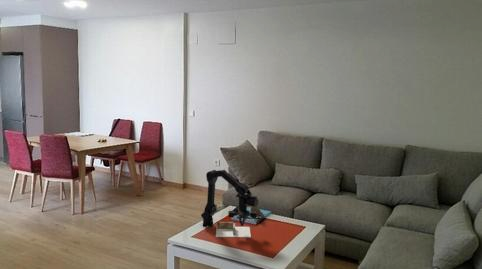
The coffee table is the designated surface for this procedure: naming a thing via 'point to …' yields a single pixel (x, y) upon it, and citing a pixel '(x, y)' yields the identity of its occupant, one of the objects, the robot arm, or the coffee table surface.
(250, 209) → the worn brown figurine
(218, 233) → the card
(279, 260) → the coffee table surface
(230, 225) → the fence fixed section
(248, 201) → the robot arm
